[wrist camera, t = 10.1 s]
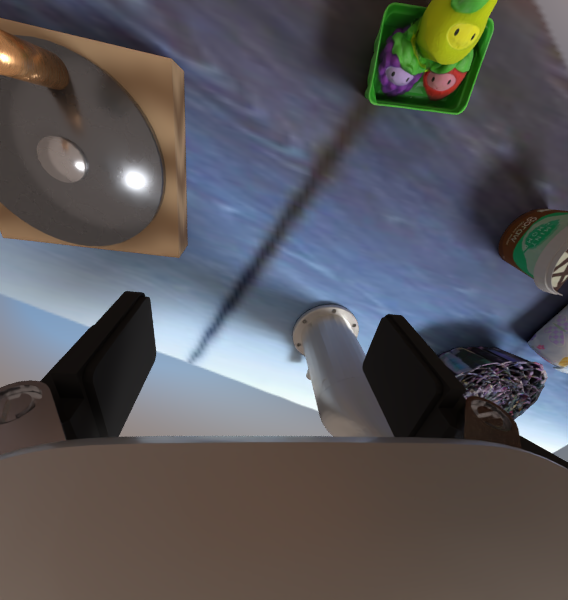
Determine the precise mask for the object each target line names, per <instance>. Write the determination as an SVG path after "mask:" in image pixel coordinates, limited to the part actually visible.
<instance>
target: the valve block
mask: <svg viewBox="0 0 568 600" xmlns="http://www.w3.org/2000/svg"><path fill="white" fill-rule="evenodd" d="M0 29H1V30H3V31H5V32H7V33H10V34H12V35H21V36H31V37H36V38H40V39H44V40H48V41H50V42H53V43H56V44H58V45H61V46H64V47H66V48H67V49H69V50H71V51H73V52H75V53H77V54H79V55H81V56H83V57H85V58H87V59H89V60H90V61H92V62H93V63H95V64H96V65H98V66H99V67H101V68H102V69H104V70H105V71H106V72H107V73H109V74H110V75H111V76H112V77H113V78H115V79H116V80H117V81H118V82H119V83H120V84H121V85H122V86H123V87H124V88H125V89H126V90H127V91H128V92H129V94H130V95H131V96H132V97H133V98H134V100H135V101H136V102H137V103H138V105H139V106H140V108H141V109H142V111H143V112H144V114H145V115H146V117H147V118H148V120H149V122H150V124H151V126H152V127H153V129H154V131H155V134H156V136H157V139H158V141H159V143H160V147H161V150H162V154H163V157H164V163H165V169H166V187H165V194H164V199H163V202H162V205H161V207H160V210H159V212H158V213H157V215H156V217H155V218H154V219H153V221H152V222H151V223H150V224H149V225H148V226H147V227H146V228H145V229H144V230H142V231H141V232H140V233H139V234H137V235H136V236H134V237H132V238H131V239H129V240H126V241H124V242H121V243H118V244H114V245H108V246H85V245H78V244H73V243H69V242H66V241H63V240H60V239H57V238H54V237H52V236H50V235H47V234H45V233H43V232H41V231H39V230H37V229H36V228H34V227H32V226H30V225H29V224H27V223H26V222H24V221H23V220H21V219H20V218H19V217H17V216H16V215H15V214H13V213H12V212H11V211H10V210H8V209H7V208H6V207H5V206H4V205H3V204H2V203H1V202H0V231H1V234H2V236H3V238H11V239H19V240H28V241H37V242H46V243H54V244H63V245H72V246H81V247H89V248H98V249H107V250H116V251H124V252H133V253H142V254H150V255H159V256H168V257H177V258H179V257H180V256H181V254H182V253H183V251H184V250H185V248H186V247H187V245H188V241H187V194H186V147H185V100H184V71H183V70H182V69H181V68H180V67H179V66H178V65H177V64H176V63H175V62H174V61H173V60H172V59H171V58H166V57H162V56H158V55H154V54H150V53H145V52H141V51H137V50H133V49H129V48H125V47H120V46H116V45H112V44H108V43H104V42H99V41H95V40H91V39H87V38H83V37H78V36H74V35H70V34H66V33H62V32H57V31H53V30H49V29H45V28H41V27H36V26H32V25H28V24H24V23H20V22H15V21H11V20H7V19H3V18H0Z"/></svg>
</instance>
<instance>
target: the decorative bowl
mask: <svg viewBox="0 0 568 600" xmlns="http://www.w3.org/2000/svg"><path fill="white" fill-rule="evenodd" d="M438 357H439V358H440V359H441V361H442V362H443V363H444V364H445V365H446V366H447V367H448V369H449V370H450V371H451V372H452V373H453V374H454V376H455V377H456V378H457V379H458V380H459V381H460V382H461V384H462V385H463V386H464V387H465V388H466V389H467V390H466V391H465V392H464V394H463V397H464V398H465V399H467V398H468V397H470V396H478V397H482V398H485V399H487V400H490V401H492V402H493V403H495V404H497V405H498V406H500V407H501V408H502V409H504V410H505V411H506V412H507V413H508V414H509V415H510V416H511V417H512V418H513V420H514V419H516V418H517V417H518V416H520V415H521V414H523V413H524V412H525V411H526V410H527V409H528V408H529V407H530V406H531V405H532V404H534V403H535V402H536V401H537V399H538V397H539V395H540V393H541V391H542V389H543V388H544V383H545V381H546V380H547V378H548V377H547V374H546V371H545V370H544V369H543V365H542V364H539V363H537V362H530V361H528V360H525V359H523V358H520V357H518V356H516V355H513V354H511V353H508V352H506V351H503V350H501V349H498V348H496V347H493V348H488V347H482V346H480V347H468V348H467V349H464V348H461V347H460V348H455V349H453V350H450V352H445V353H443V354H441V355H439V356H438Z"/></svg>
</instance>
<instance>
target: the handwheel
mask: <svg viewBox="0 0 568 600" xmlns="http://www.w3.org/2000/svg"><path fill="white" fill-rule="evenodd" d="M165 187H166V169H165V163H164V157H163V154H162V150H161V147H160V143H159V141H158V139H157V136H156V134H155V131H154V129H153V127H152V126H151V124H150V122H149V120H148V118H147V117H146V115H145V114H144V112H143V111H142V109H141V108H140V106H139V105H138V103H137V102H136V101H135V100H134V98H133V97H132V96H131V95H130V94H129V92H128V91H127V90H126V89H125V88H124V87H123V86H122V85H121V84H120V83H119V82H118V81H117V80H116V79H115V78H113V77H112V76H111V75H110V74H109V73H107V72H106V71H105V70H104V69H102V68H101V67H99V66H98V65H96V64H95V63H93V62H92V61H90V60H89V59H87V58H85V57H83V56H81V55H79V54H77V53H75V52H73V51H71V50H69V49H67V48H66V47H64V46H61V45H58V44H56V43H53V42H50V41H48V40H44V39H40V38H36V37H31V36H21V35H12V34H10V33H7V32H5V31H3V30H1V29H0V202H1V203H2V204H3V205H4V206H5V207H6V208H7V209H8V210H10V211H11V212H12V213H13V214H15V215H16V216H17V217H19V218H20V219H21V220H23V221H24V222H26V223H27V224H29V225H30V226H32V227H34V228H36V229H37V230H39V231H41V232H43V233H45V234H47V235H50V236H52V237H54V238H57V239H60V240H63V241H66V242H69V243H73V244H78V245H85V246H108V245H114V244H118V243H121V242H124V241H126V240H129V239H131V238H132V237H134V236H136V235H137V234H139V233H140V232H141V231H142V230H144V229H145V228H146V227H147V226H148V225H149V224H150V223H151V222H152V221H153V219H154V218H155V217H156V215H157V213H158V212H159V210H160V207H161V205H162V202H163V199H164V194H165Z"/></svg>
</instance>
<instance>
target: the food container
mask: <svg viewBox="0 0 568 600" xmlns="http://www.w3.org/2000/svg"><path fill="white" fill-rule="evenodd" d="M499 255H500V257H501V258H502V259H503V260H504V261H506V262H507V263H509V264H511V265H512V266H514V267H515V268H517V269H518V270H520V271H522V272H523V273H525V274H526V275H528V276H529V277H531V278H533V279H534V282H535V284H536V286H537V287H538V288H539V289H541V290H542V291H545V292H548V293H552V294H555V295H557V294H559V295H562V294H560V293H559V292H557V291H558V289H559V288H561V286H562V285H563V284H564V282H565V281H566V280H567V279H568V211H562V210H552V209H535V210H532V211H529V212H527V213H525V214H523V215H521V216H520V217H519V218H517V219H516V220H514V221H513V222H512V223H511V224H510V225H509V226H508V228H507V229H506V230H505V232H504V233H503V235H502V237H501V239H500V242H499Z"/></svg>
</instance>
